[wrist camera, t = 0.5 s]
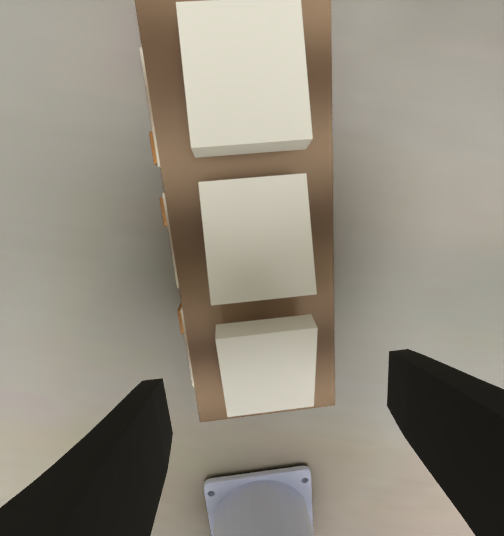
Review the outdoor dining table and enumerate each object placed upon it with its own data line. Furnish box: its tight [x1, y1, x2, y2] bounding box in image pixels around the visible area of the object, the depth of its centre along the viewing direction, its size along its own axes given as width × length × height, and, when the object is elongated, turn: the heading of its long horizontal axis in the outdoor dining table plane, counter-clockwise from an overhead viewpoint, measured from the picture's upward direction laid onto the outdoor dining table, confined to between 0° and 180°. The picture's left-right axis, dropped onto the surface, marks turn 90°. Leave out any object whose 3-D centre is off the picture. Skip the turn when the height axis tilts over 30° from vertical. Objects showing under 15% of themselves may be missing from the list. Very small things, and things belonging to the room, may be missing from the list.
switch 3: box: [215, 314, 318, 417], centre depth 14 cm, size 5×4×1 cm
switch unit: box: [135, 0, 335, 422], centre depth 15 cm, size 21×8×4 cm, turn 5°
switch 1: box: [176, 0, 313, 158], centre depth 11 cm, size 5×4×1 cm
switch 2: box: [198, 173, 317, 306], centre depth 12 cm, size 5×4×1 cm
